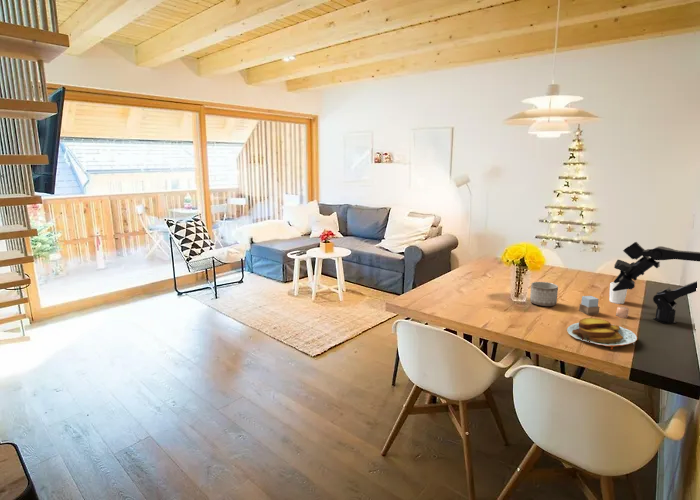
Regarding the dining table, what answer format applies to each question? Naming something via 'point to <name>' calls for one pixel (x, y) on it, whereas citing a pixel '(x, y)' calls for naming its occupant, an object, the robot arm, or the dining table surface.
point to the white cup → (617, 294)
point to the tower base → (589, 310)
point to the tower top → (589, 301)
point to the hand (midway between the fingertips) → (613, 286)
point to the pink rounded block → (622, 312)
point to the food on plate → (601, 332)
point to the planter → (544, 293)
